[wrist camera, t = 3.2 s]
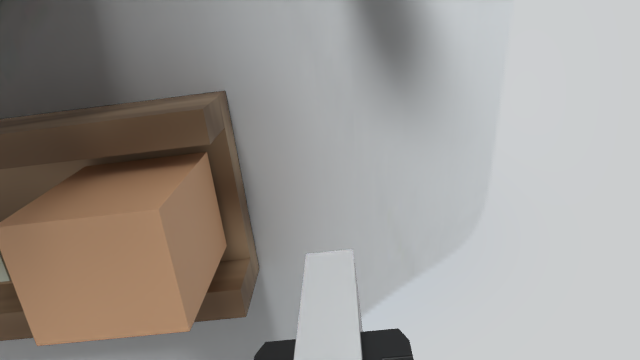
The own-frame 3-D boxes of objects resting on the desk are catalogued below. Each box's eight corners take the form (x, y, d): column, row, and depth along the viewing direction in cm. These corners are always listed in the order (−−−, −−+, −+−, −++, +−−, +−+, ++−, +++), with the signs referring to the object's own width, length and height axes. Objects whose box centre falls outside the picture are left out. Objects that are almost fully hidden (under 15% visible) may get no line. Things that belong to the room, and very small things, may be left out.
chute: (-190, 143, 26) (-293, 170, 21) (225, 90, 24) (202, 108, 20) (-111, 307, 29) (-186, 358, 25) (259, 268, 28) (246, 316, 23)
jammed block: (85, 166, 24) (-9, 228, 17) (206, 151, 24) (158, 209, 17) (113, 257, 26) (36, 345, 19) (226, 245, 25) (189, 331, 19)
